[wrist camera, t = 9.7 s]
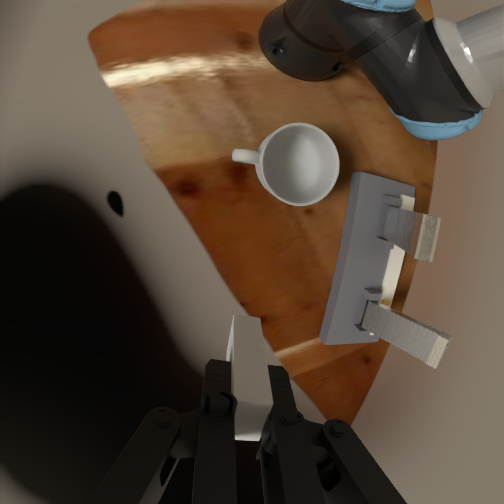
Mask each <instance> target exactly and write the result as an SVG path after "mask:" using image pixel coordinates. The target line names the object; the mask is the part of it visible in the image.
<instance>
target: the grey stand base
mask: <svg viewBox="0 0 504 504" xmlns="http://www.w3.org/2000/svg"><path fill="white" fill-rule="evenodd" d="M415 188H416V187H413V186H410V185H407V184H404V183H400V182H397V181H394V180H390V179H387V178H383V177H379V176H376V175H372V174H368V173H364V172H352V177H351V184H350V191H349V197H348V204H347V210H346V216H345V222H344V227H343V233H342V238H341V244H340V249H339V254H338V259H337V263H336V268H335V273H334V277H333V282H332V286H331V291H330V295H329V299H328V303H327V308H326V312H325V316H324V320H323V323H322V327H321V331H320V335H319V337H320V339H321V340H322V341H323V343H324V344H325V345H334V344H353V343H367V342H378V340H379V338H380V337H378V336H376V335H374V334H373V333H371V332H369V331H367V330H365V329H364V328H362V327H361V326H360V322H361V318H362V315H363V312H364V308H365V305H366V301H367V300H373V301H378V302H380V303H382V304H384V305H386V306H388V307H391V303H392V300H393V297H394V293H395V290H396V286H397V282H398V278H399V275H400V271H401V267H402V263H403V258H404V254H405V251H404V250H402V249H401V248H399V247H398V246H396V245H395V244H393V243H392V242H390V241H388V240H387V239H385V238H384V237H382V233H383V228H384V222H385V217H386V211H387V206H389V207H394V208H399V209H404V210H409V211H413V208H414V202H415V198H414V195H415Z"/></svg>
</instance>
